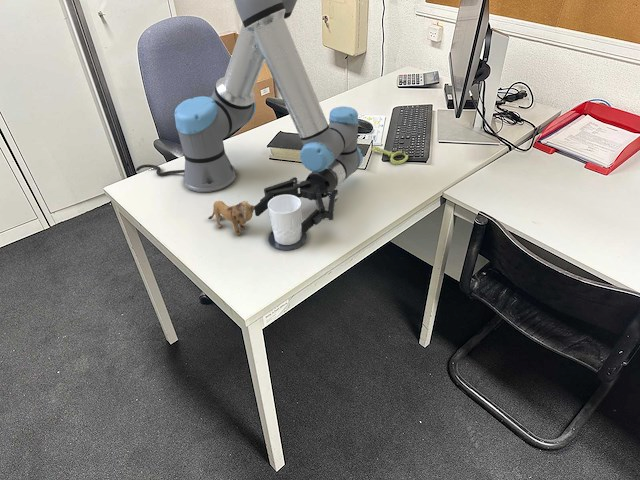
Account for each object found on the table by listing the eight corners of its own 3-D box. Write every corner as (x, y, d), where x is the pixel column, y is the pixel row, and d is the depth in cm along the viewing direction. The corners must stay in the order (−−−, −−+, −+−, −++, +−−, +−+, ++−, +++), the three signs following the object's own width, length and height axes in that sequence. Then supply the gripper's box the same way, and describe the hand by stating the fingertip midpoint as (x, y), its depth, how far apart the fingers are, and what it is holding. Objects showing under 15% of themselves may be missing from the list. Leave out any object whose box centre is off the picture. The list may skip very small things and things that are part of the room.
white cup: (299, 248, 102) (296, 214, 96) (267, 245, 104) (263, 211, 97) (306, 229, 108) (304, 195, 102) (276, 226, 110) (273, 193, 103)
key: (372, 150, 141) (372, 144, 140) (409, 155, 138) (410, 149, 137) (366, 160, 136) (367, 154, 135) (405, 166, 133) (406, 160, 131)
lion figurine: (260, 228, 110) (256, 198, 104) (249, 239, 106) (244, 210, 101) (214, 214, 115) (207, 186, 109) (202, 225, 111) (194, 196, 106)
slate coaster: (260, 242, 105) (260, 241, 105) (283, 222, 112) (283, 221, 111) (292, 255, 101) (292, 254, 101) (314, 233, 107) (314, 232, 107)
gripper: (366, 203, 111) (324, 249, 97) (288, 179, 122) (240, 217, 108) (368, 178, 106) (323, 222, 93) (286, 155, 117) (235, 192, 103)
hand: (278, 219), depth 100 cm, fingers open, 13 cm apart
